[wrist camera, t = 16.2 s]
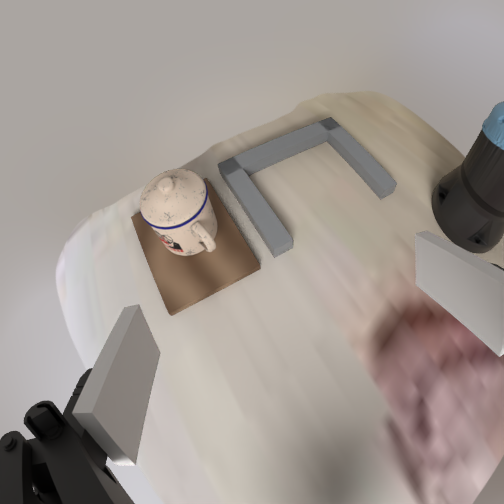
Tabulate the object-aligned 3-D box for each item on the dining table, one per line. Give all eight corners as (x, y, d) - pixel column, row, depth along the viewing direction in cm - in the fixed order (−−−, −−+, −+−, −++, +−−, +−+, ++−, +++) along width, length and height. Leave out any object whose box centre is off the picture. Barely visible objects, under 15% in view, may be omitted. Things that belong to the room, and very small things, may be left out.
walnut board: (207, 182, 51) (206, 177, 50) (260, 268, 44) (259, 265, 42) (133, 220, 49) (131, 217, 48) (171, 315, 42) (168, 313, 41)
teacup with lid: (150, 230, 47) (119, 185, 36) (196, 195, 49) (175, 144, 38) (195, 285, 42) (167, 247, 32) (245, 243, 44) (233, 194, 34)
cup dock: (329, 126, 55) (331, 117, 52) (393, 192, 47) (397, 183, 45) (220, 173, 52) (217, 164, 49) (274, 257, 44) (273, 249, 42)
